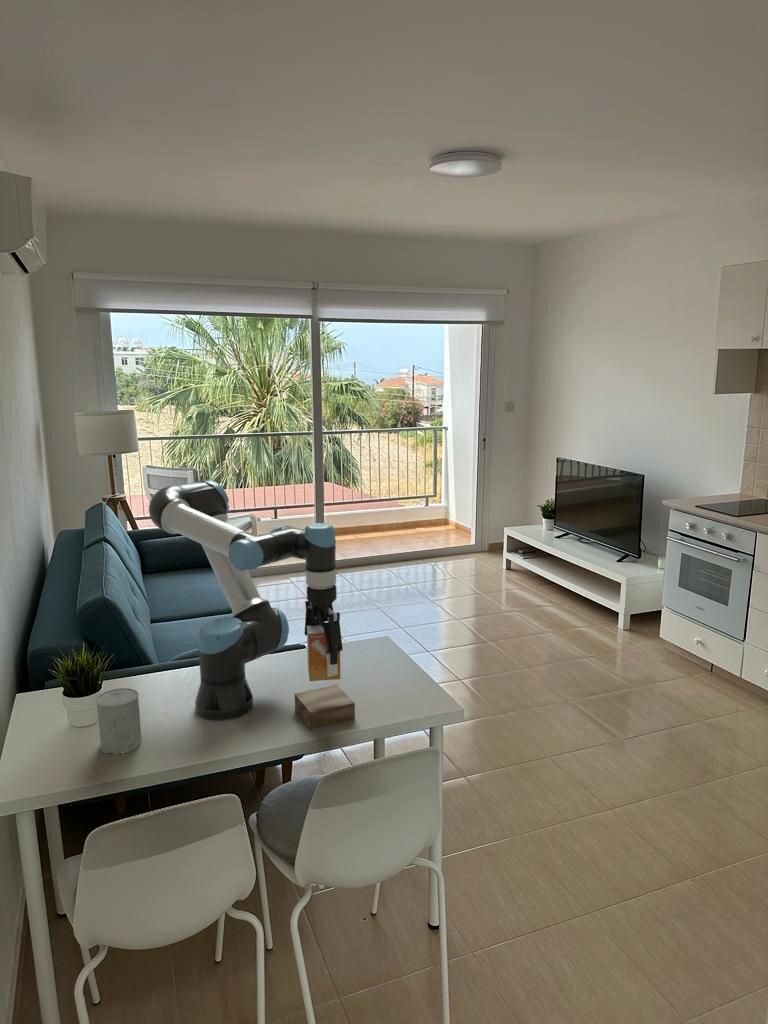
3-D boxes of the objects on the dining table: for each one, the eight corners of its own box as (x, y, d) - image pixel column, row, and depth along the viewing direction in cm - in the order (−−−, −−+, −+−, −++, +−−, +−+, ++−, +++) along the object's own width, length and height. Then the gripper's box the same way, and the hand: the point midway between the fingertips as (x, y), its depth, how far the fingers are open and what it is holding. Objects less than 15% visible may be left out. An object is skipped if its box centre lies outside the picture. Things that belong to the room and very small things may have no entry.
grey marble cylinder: (149, 736, 180) (146, 690, 178) (128, 756, 171) (124, 708, 168) (115, 732, 182) (111, 686, 180) (92, 751, 173) (87, 703, 171)
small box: (309, 682, 185) (307, 633, 182) (307, 672, 191) (306, 625, 188) (341, 679, 186) (340, 631, 183) (338, 669, 192) (337, 622, 189)
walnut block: (295, 711, 193) (294, 693, 192) (336, 701, 199) (336, 684, 198) (311, 731, 183) (311, 712, 182) (355, 720, 188) (354, 702, 187)
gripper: (356, 592, 177) (357, 679, 181) (314, 573, 194) (316, 653, 199) (329, 598, 173) (331, 687, 177) (289, 577, 190) (292, 659, 194)
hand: (323, 669), depth 188 cm, fingers closed on small box, 8 cm apart
